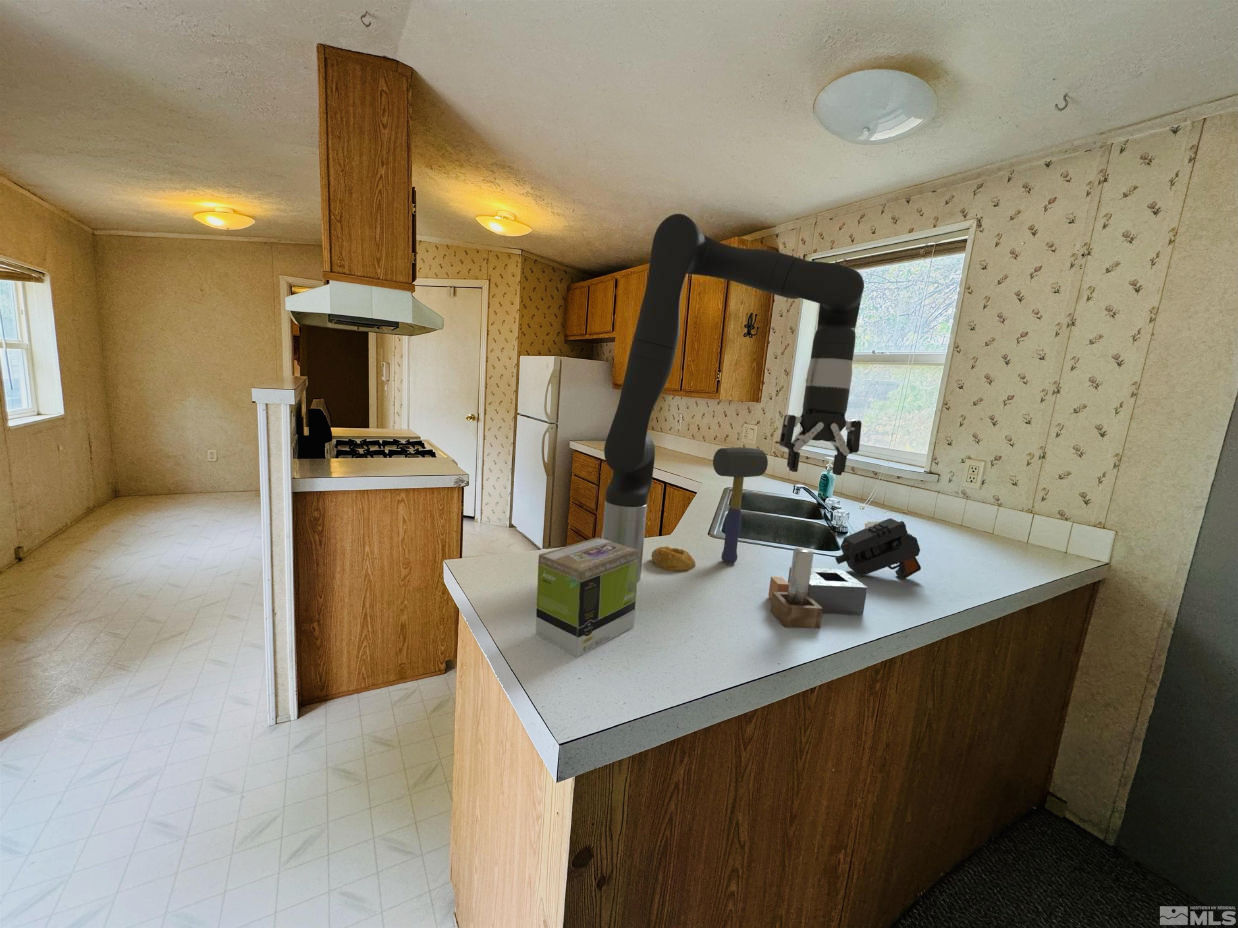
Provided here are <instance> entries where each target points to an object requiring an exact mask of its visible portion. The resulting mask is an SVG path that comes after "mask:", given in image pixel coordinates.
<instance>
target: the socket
mask: <svg viewBox="0 0 1238 928" xmlns="http://www.w3.org/2000/svg"><path fill="white" fill-rule="evenodd" d="M788 570H789V571H788V578H787V582H788V583H789V581H790V573H791V566H789V569H788ZM867 592H868V586H867V585H865V584H864V583H862V582H860V581H859V580H858V579H856V578H855V577H854V576H852V575H850V574H849V573H848V572H846V571H845V570H843V569H842V568H822V567H821V568H819V567H812V568H811V575H810V582H809V589H808V595H809V596H810V597H811V598H812V599H813V600H814V601H815V602H816V603H817V604H818V605H820V606H821V607H822V608H823V611H822V615H824V614H828V615H829V614H830V615H849V616H850V615H851V616H852V615H855V616H863V615H864V610H865V605H866V598H867Z"/></svg>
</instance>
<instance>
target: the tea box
mask: <svg viewBox="0 0 1238 928" xmlns="http://www.w3.org/2000/svg"><path fill="white" fill-rule="evenodd" d="M638 553H639V550H637V549H634V548H630V547H627V546H624V545H620V544H617V543H614V542H611V541H608V540H604V539H601V538H600V536H598V537H594V538H593V537H592V538H590V539H587V540H583V541H579V542H577V543H573V544H570V545H566V546H563V547H560V548H557V549H553V550H549V551H547V552H544V553H543V552H542V553H539V554H538V562H537V564H538V566H537V585H536V586H537V587H536V589H537V591H536V592H537V593H536V613H535V615H536V616H535V617H536V618H535V636H537V637H539V638H541V639H543V640H544V641H547V642H548V643H550V644H551V645H553V646H555V647H557V648H558V649H560V650H563V651H564V652H565V653H567V654H570V655H571V656H573V657H574V658H579V657H580V656H582V655H584V654H586V653H588V652H589V651H591V650H593V649H595V648H597V647H599V646H601V645H603V644H605V643H606V642H608V641H610V640H612V639H613V638H616V637H618V636H620V635H621V634H624V633H625V632H627V631H629V630H630V629H632V628H634V627H635V617H636V599H637V584H638V582H637V571H638Z"/></svg>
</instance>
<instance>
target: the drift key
mask: <svg viewBox="0 0 1238 928" xmlns="http://www.w3.org/2000/svg"><path fill="white" fill-rule="evenodd" d="M769 581H770V582H769V588H768V595H767V596H768V597H769V598H770V600H772V593H773V592H788V588H789V583H788V581H787V580H785V578H784V577H782V576H770V579H769Z"/></svg>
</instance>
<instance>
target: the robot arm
mask: <svg viewBox="0 0 1238 928" xmlns="http://www.w3.org/2000/svg"><path fill="white" fill-rule="evenodd" d="M652 238H653V239H652V245H651V251H650V258H649V259H650V260H649V265H648V272H647V273H648V275H647V279H646V286H645V292H644V294H643V297H642V298H643V299H642V303H641V305H640V308H639V309H640V310H639V313H638V318H637V323H636V327H635V330H634V334H633V338H632V342H631V344H630V349H629V354H628V358H627V363H626V367H625V368H626V369H625V373H624V376H623V377H624V378H623V381H622V386H621V392H620V396H619V400H618V404H617V408H616V411H615V414H614V417H613V420H612V423H611V425H610V428H609V431H608V434H607V436H606V439H605V441H604V442H605V443H604V448H603V454H604V459H605V462H606V464H607V465H608V467H609V469H610V470H612V477H611V479H610V482H609V484H608V486H607V487H606V489H605V498H604V513H603V522H602V523H603V524H602V525H603V526H602V530H601V539H604V540H608V541H611V542H614V543H617V544H620V545H624V546H627V547H630V548H634V549H637V550H639V553H638V571H637V583H638V582H640V580H641V576H642V568H643V567H642V566H643V565H642V563H643V557H644V556H643V555H644V554H643V553H644V552H643V551H644V546H645V545H644V543H645V542H644V541H645V533H646V532H645V531H646V521H647V520H646V519H647V509H648V500H649V499H648V498H649V494H650V492H651V489H652V484H653V478H654V477H653V476H654V468H655V459H656V447H655V442H654V440H653V438H652V437H651V435H650V434H649V433H648V429H649V426H650V425H649V424H650V420H651V416H652V413H653V411H654V410H653V409H654V408H655V405H656V403H657V401H658V400H659V397H660V396H661V394H662V392H663V390H664V388H665V386H666V384H667V382H668V379H669V378H670V375H671V373H672V369H673V365H674V362H675V358H676V354H677V350H678V347H679V346H678V345H679V341H680V340H679V339H680V328H681V312H680V311H681V299H682V297H681V296H682V293H683V287H684V283H685V281H686V277H687V275H692V276H694V275H695V276H704V277H711V278H715V279H716V278H717V279H721V280H724V281H725V280H727V281H730V282H734V283H738V284H740V285H744V286H746V287H749V288H753V289H756V290H760V291H762V292H766V293H769V294H773V295H776V296H778V297H783V298H785V299H790V300H797V299H802V300H805V301H810V302H813V303H817V304H819V305H818V306H819V307H818V315H817V324H816V325H817V328H816V330H815V333H814V336H813V341H812V347H811V355H810V362H809V366H808V368H807V372H806V373H807V374H806V378H805V388H804V393H803V394H804V395H803V402H802V413H801V415H800V416H798V415H797V416H796V415H794V414H785V415H784V418H783V423H782V427H781V432H780V437H779V445H780V446H781V447H783V448H785V449H787V450H788V452H787V453H788V454H787V455H788V456H787V461H786V462H787V463H786V466H787V468H788V470H789V472H792V473H798V470H799V465H800V456H801V452H800V450H801V449H802V448H803V447H804V446H805V445H807V444H808V443H810V441H815V442H818V441H819V442H820V441H822V442H826V443H827V442H829V443H830V444H831V445H832V447H833V448H834V450H835V452H836V454H834V456H833V465H832V469H831V470H832V474H833V475H836V476H842V473H845V470H846V464H847V459H848V456H849V455H851V454H855V453H856V454H857V453H859V451H860V444H861V432H862V421H861V420H858V419H849V420H848V419H847V420H846V413H847V410H848V409H847V408H848V405H849V404H848V403H849V396H850V390H851V383H852V377H853V360H854V353H855V347H856V346H855V345H856V338H857V337H856V334H857V333H856V327H857V323H858V319H859V318H858V317H859V311H860V309H861V307H860V306H861V303H862V302H861V301H862V297H863V294H864V289H865V281H864V278H863V276H862V274H861V273H860V272H859V271H858V270H857V269H855V268H852V267H851V266H850V267H849V266H847V265H845V264H839V263H834V262H833V263H832V262H824V261H816V260H815V261H814V260H808V259H804V258H801V257H797V256H794V255H791V254H787V253H783V252H779V251H775V250H769V249H763V248H762V249H761V248H745V247H744V248H743V247H736V246H732V245H728V244H726V243H725V244H724V243H722V242H720V241H718V240H715V239H713V238H711V237H709V236H707V235H705V234H704V233H703V232H702V230H701V229H700V228H699V226H698V225H697V223H696V222H695V221H694V219H692V218H691V217H689V216H687V215H686V214H683V213H674V214H671V215H668V216H667V217H666V218H664V219H663V220H662V221H661V223H660V224H659V225H658V227H657V228H656V231H655V233H654V235H653V237H652ZM798 424H799V425H800V427H801V430H800V431H799V432H798V433H797V434H796V435H795V437H794V439H793V436H794V432H795V428H797V427H798ZM844 428H845V430H846V440H845V438H844V437H843V435H842V433H841V432H842V431H843V430H844Z"/></svg>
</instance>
